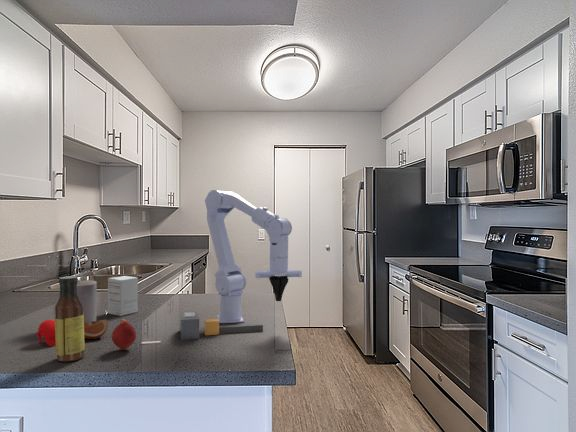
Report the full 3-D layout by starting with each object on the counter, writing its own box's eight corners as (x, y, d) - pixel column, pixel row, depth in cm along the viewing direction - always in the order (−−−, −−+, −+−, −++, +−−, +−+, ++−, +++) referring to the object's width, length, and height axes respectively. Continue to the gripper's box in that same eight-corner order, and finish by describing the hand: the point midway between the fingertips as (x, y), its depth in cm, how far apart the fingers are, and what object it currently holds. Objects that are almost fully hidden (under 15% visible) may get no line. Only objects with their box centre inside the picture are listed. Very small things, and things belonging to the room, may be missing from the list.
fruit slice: (77, 343, 115) (77, 325, 115) (73, 337, 120) (73, 320, 120) (109, 339, 119) (110, 321, 119) (104, 333, 125) (104, 316, 125)
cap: (31, 329, 116) (31, 322, 112) (54, 319, 120) (55, 312, 116) (44, 354, 114) (45, 348, 110) (67, 343, 118) (69, 336, 114)
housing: (180, 330, 129) (180, 310, 129) (197, 329, 131) (197, 310, 131) (181, 340, 119) (181, 319, 119) (199, 338, 120) (199, 318, 120)
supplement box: (124, 309, 156) (125, 275, 156) (138, 312, 152) (138, 277, 152) (107, 313, 150) (107, 277, 150) (120, 316, 146) (121, 279, 146)
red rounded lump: (128, 345, 114) (128, 315, 114) (140, 349, 110) (140, 319, 110) (107, 350, 109) (108, 319, 109) (119, 355, 106) (119, 323, 106)
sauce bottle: (88, 354, 106) (89, 275, 106) (77, 363, 100) (78, 279, 100) (62, 354, 106) (63, 275, 106) (49, 363, 100) (50, 278, 100)
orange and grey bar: (261, 328, 132) (261, 315, 132) (263, 331, 129) (263, 318, 129) (204, 331, 128) (204, 318, 128) (205, 335, 124) (205, 321, 124)
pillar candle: (64, 323, 136) (64, 276, 135) (97, 320, 139) (98, 275, 139) (59, 331, 126) (60, 281, 126) (95, 328, 130) (95, 280, 130)
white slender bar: (141, 343, 116) (141, 342, 116) (160, 342, 117) (160, 340, 117) (141, 344, 115) (141, 343, 115) (160, 343, 116) (160, 341, 116)
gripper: (258, 258, 126) (258, 304, 126) (304, 258, 130) (304, 302, 130) (254, 256, 133) (253, 299, 133) (298, 255, 137) (297, 297, 137)
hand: (278, 300), depth 132 cm, fingers closed
